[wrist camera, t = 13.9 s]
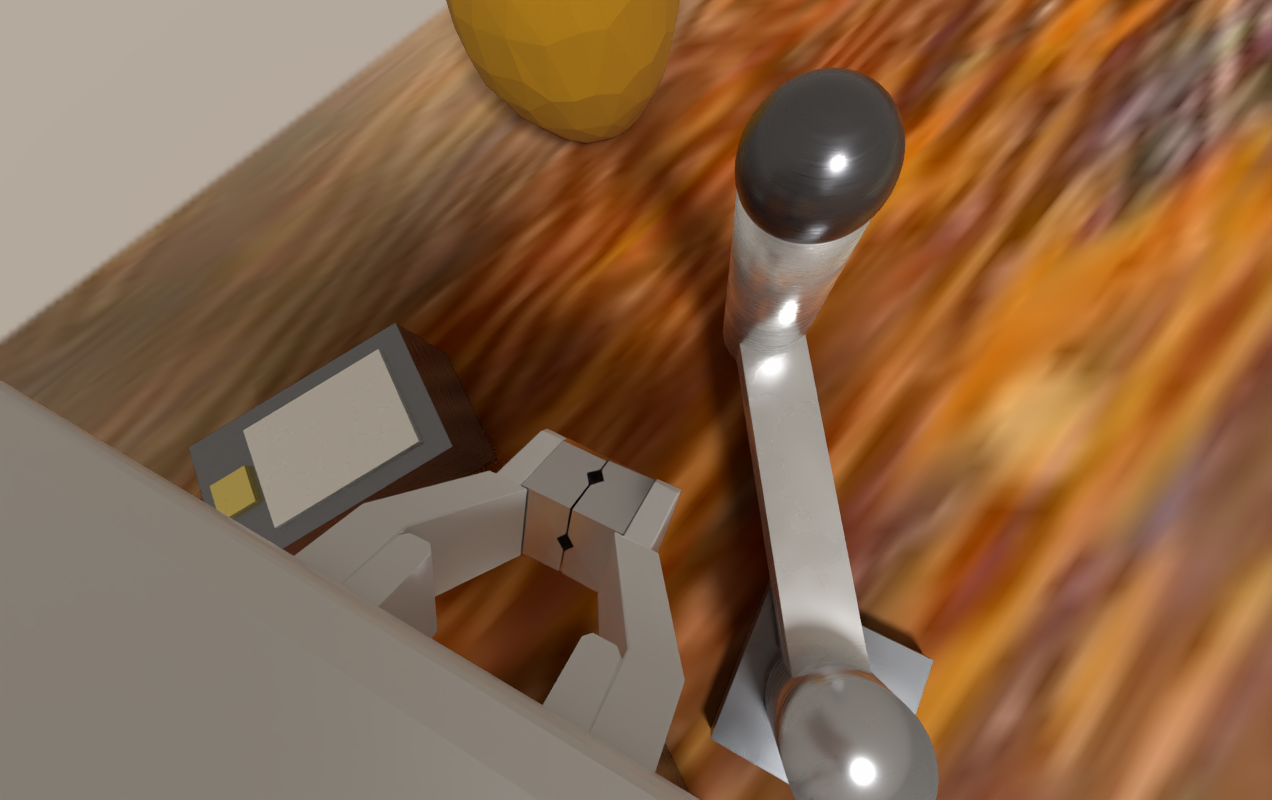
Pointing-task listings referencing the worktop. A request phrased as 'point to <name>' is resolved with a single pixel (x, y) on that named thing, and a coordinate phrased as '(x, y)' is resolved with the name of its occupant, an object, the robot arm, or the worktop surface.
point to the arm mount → (744, 698)
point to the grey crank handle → (813, 426)
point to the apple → (570, 58)
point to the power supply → (343, 441)
